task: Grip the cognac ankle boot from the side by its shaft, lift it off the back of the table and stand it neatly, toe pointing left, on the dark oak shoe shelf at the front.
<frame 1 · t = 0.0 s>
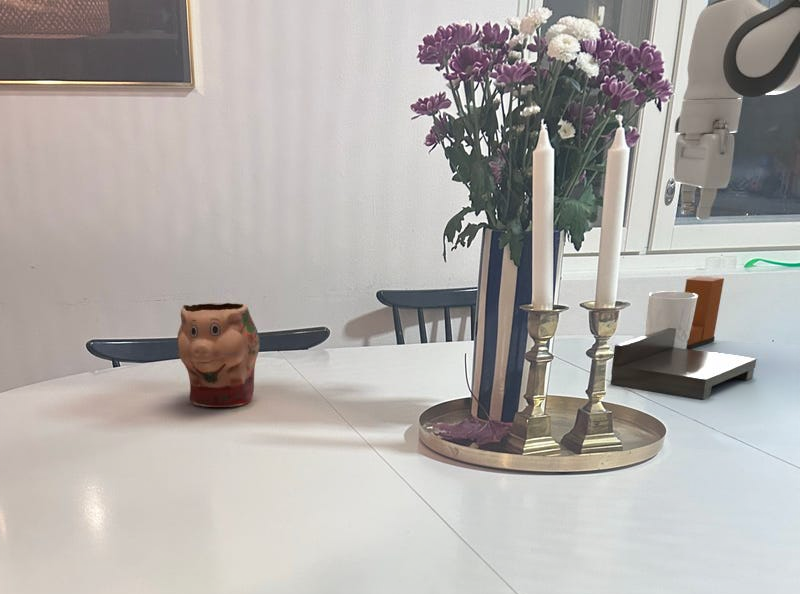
hand: (694, 216, 155), 22 cm above the table, tool pointing down, fingers open, 8 cm apart
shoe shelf: (681, 381, 147), on the table
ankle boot: (694, 341, 173), on the table
decorative planter: (222, 400, 144), on the table
white cup: (664, 356, 164), on the table
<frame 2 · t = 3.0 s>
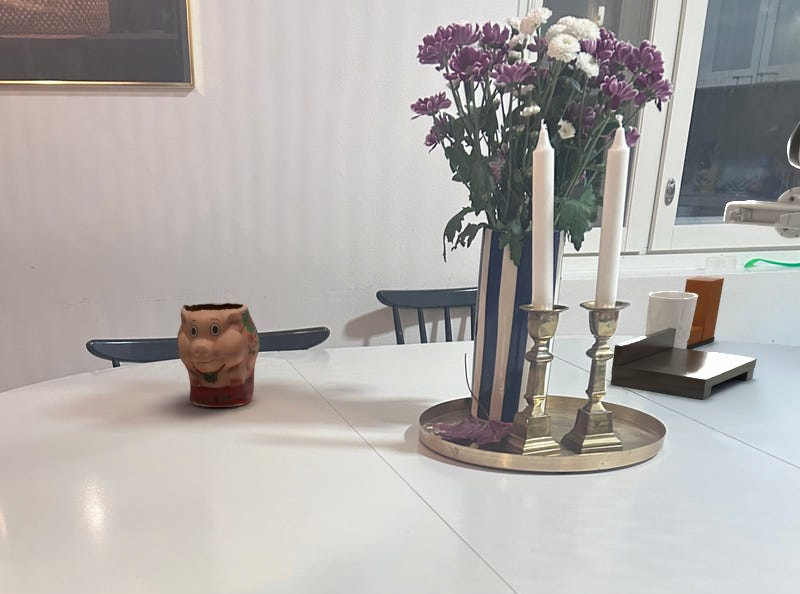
hand: (754, 218, 169), 20 cm above the table, tool horizontal, fingers open, 8 cm apart
nothing on the table moved.
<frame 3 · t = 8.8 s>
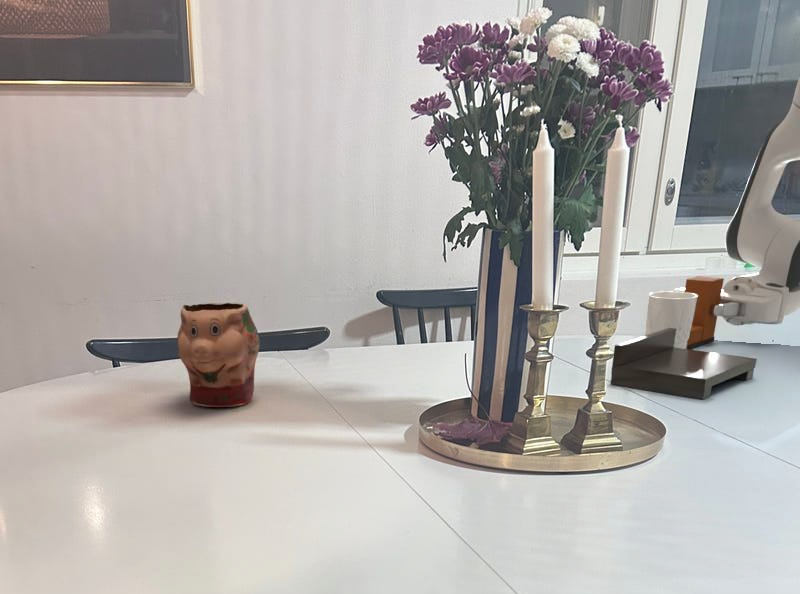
hand: (697, 308, 170), 6 cm above the table, tool horizontal, fingers closed on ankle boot, 5 cm apart
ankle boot: (694, 341, 173), on the table, touching gripper
everything else where it was.
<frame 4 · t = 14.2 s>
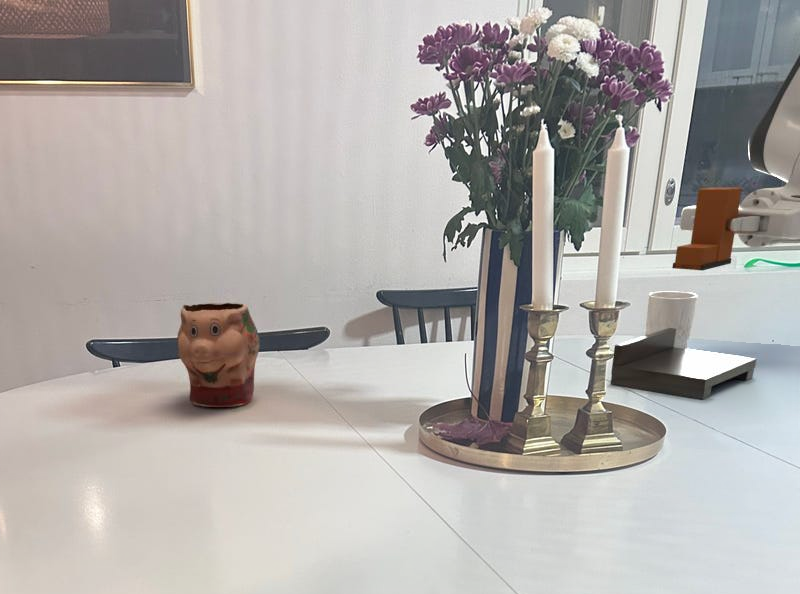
hand: (711, 224, 147), 22 cm above the table, tool horizontal, fingers closed on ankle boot, 5 cm apart
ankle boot: (708, 264, 150), point 16 cm above the table, touching gripper
everything else where it was.
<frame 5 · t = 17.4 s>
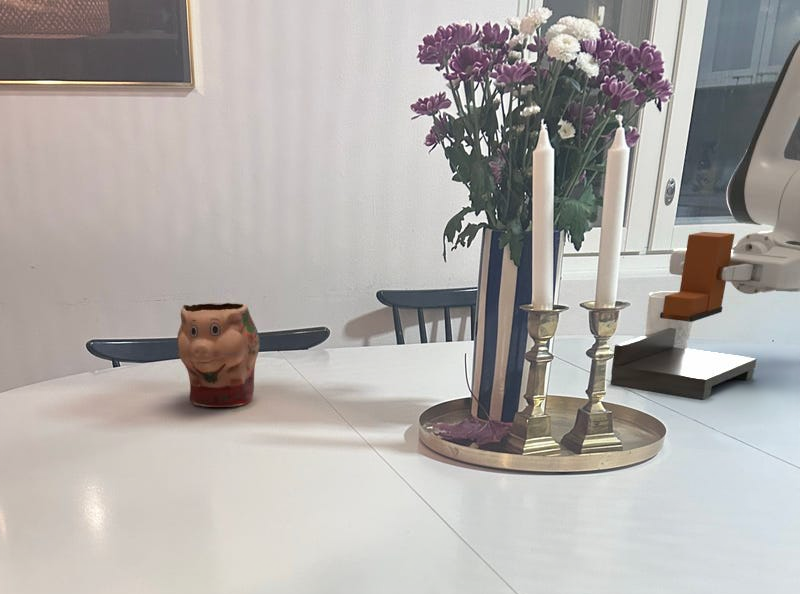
hand: (701, 271, 138), 16 cm above the table, tool horizontal, fingers closed on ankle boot, 5 cm apart
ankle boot: (698, 312, 142), point 10 cm above the table, touching gripper
everything else where it was.
when the fingers open (9 cm above the table, at t = 19.8 s): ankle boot stays where it is, resting on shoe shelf.
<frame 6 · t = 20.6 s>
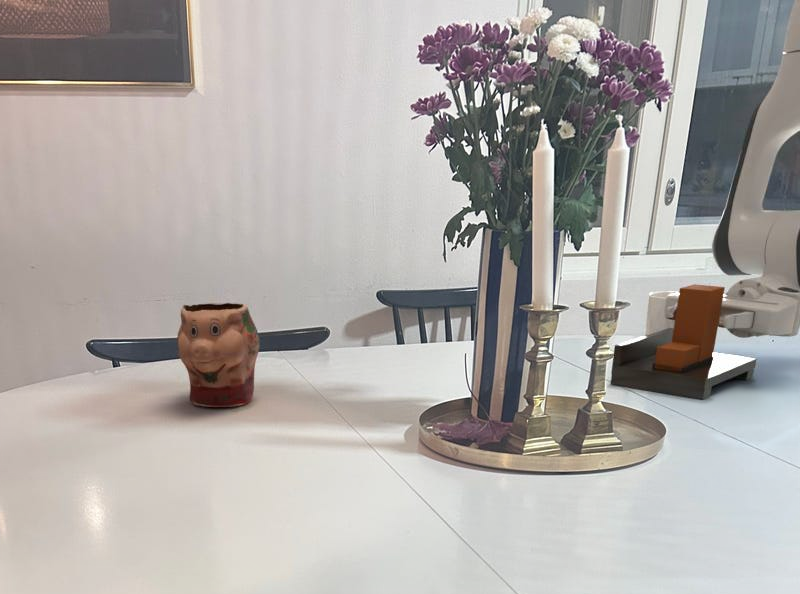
hand: (695, 317, 141), 10 cm above the table, tool horizontal, fingers open, 8 cm apart
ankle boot: (690, 362, 145), point 3 cm above the table, touching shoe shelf
everything else where it was.
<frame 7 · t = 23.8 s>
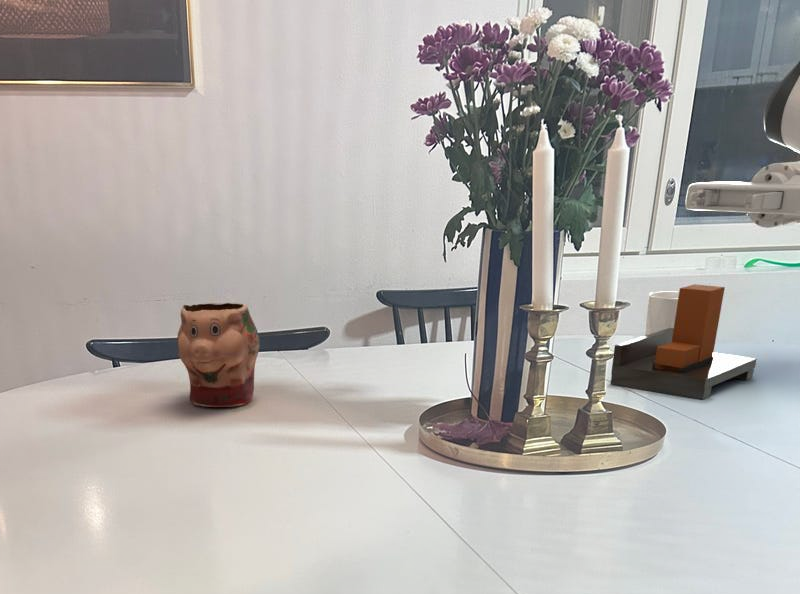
hand: (720, 200, 135), 26 cm above the table, tool horizontal, fingers open, 8 cm apart
nothing on the table moved.
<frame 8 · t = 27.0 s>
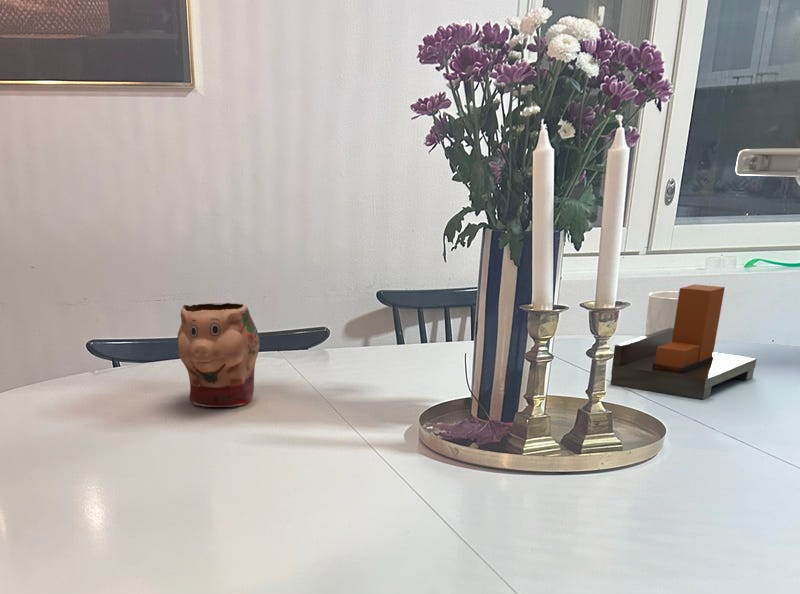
hand: (773, 164, 139), 30 cm above the table, tool horizontal, fingers open, 8 cm apart
nothing on the table moved.
at the end: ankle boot inside the target area on the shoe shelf (0.3 cm from its centre), point 3.0 cm above the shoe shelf's base; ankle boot tilted 0°; the gripper is holding nothing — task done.
